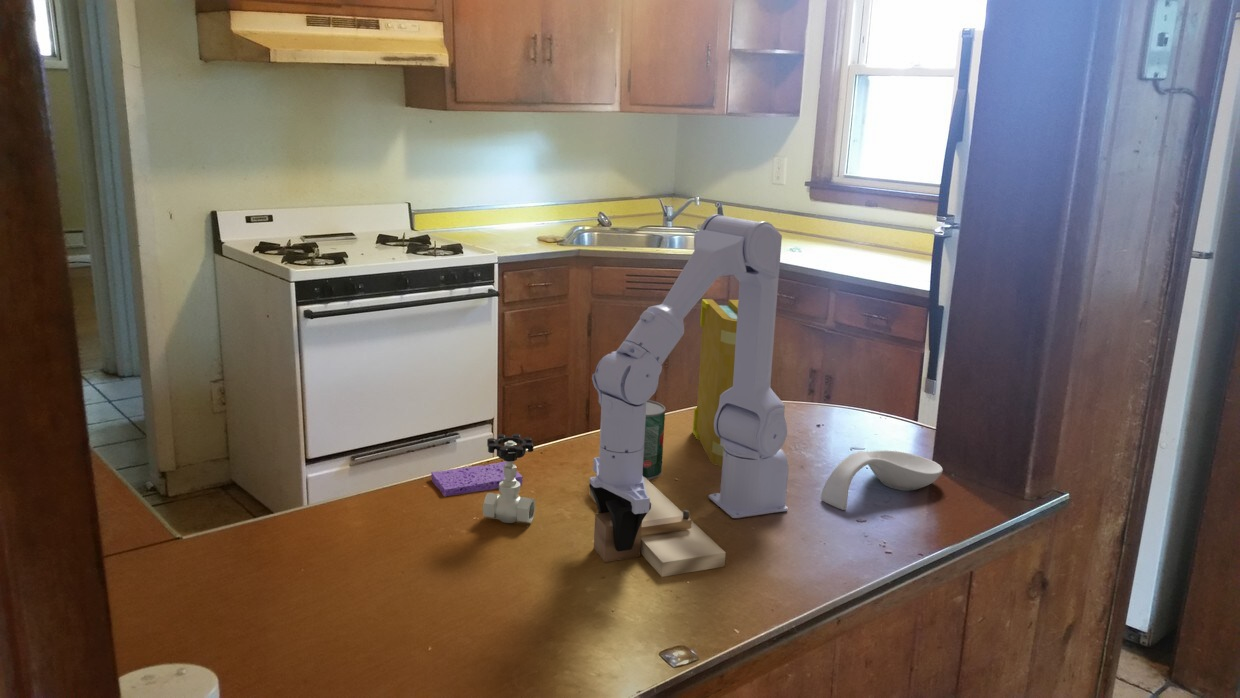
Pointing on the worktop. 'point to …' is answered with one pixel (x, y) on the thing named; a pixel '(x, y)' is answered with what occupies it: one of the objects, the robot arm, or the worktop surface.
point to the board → (676, 541)
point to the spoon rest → (880, 473)
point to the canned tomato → (653, 440)
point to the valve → (509, 482)
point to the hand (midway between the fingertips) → (617, 541)
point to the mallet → (606, 537)
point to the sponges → (470, 479)
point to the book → (714, 371)
